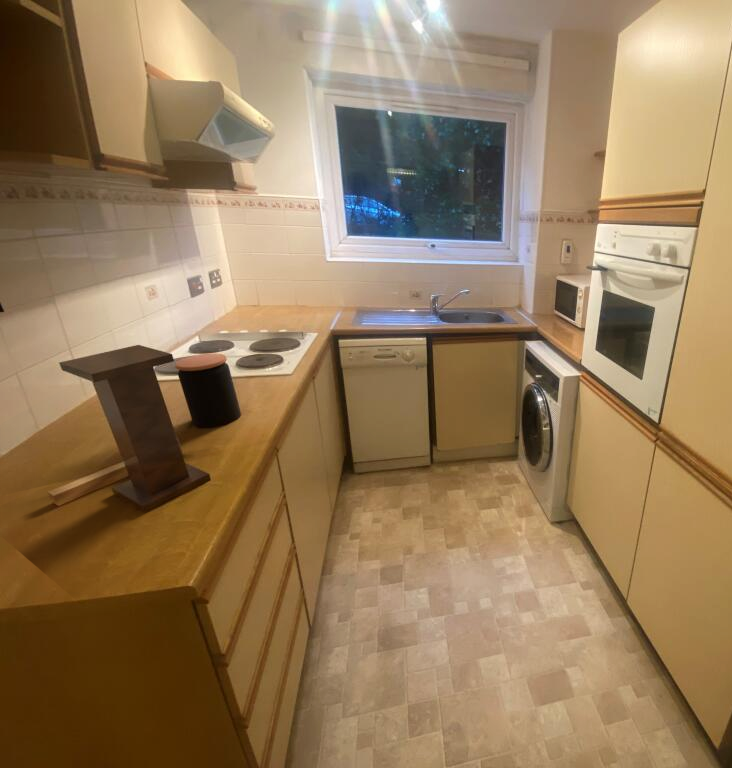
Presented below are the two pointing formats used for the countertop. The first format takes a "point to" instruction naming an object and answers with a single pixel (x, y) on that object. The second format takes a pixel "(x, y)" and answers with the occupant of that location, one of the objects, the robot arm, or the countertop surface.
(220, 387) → the coffee jar
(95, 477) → the mallet
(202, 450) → the countertop surface
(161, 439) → the stand
